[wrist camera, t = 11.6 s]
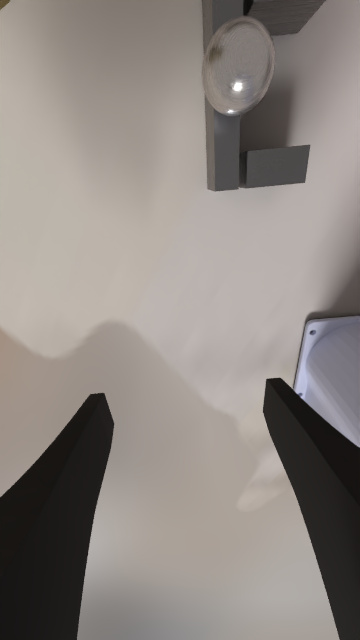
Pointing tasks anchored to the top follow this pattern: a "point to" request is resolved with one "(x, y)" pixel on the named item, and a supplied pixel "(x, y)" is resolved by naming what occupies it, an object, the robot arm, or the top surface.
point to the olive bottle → (3, 3)
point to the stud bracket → (246, 88)
